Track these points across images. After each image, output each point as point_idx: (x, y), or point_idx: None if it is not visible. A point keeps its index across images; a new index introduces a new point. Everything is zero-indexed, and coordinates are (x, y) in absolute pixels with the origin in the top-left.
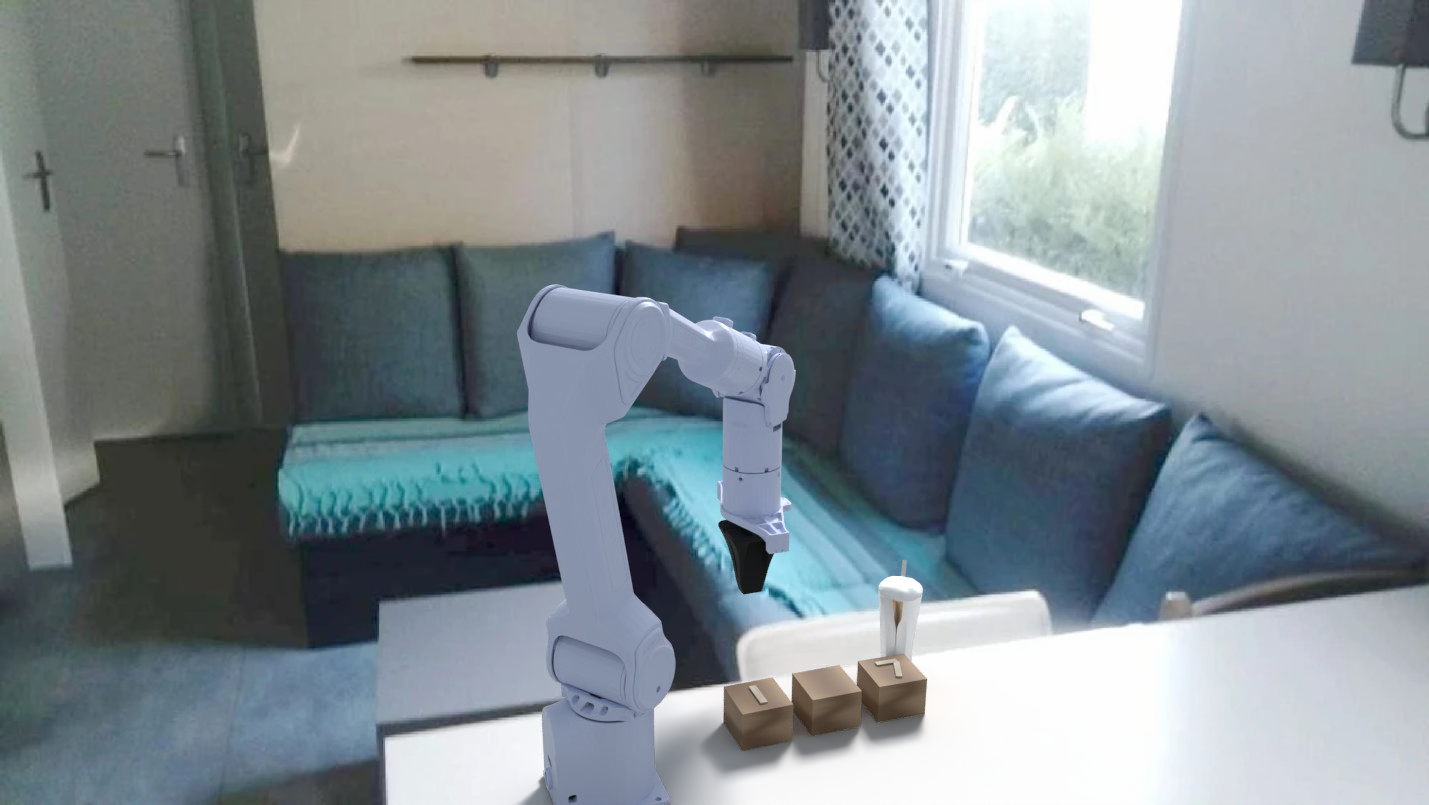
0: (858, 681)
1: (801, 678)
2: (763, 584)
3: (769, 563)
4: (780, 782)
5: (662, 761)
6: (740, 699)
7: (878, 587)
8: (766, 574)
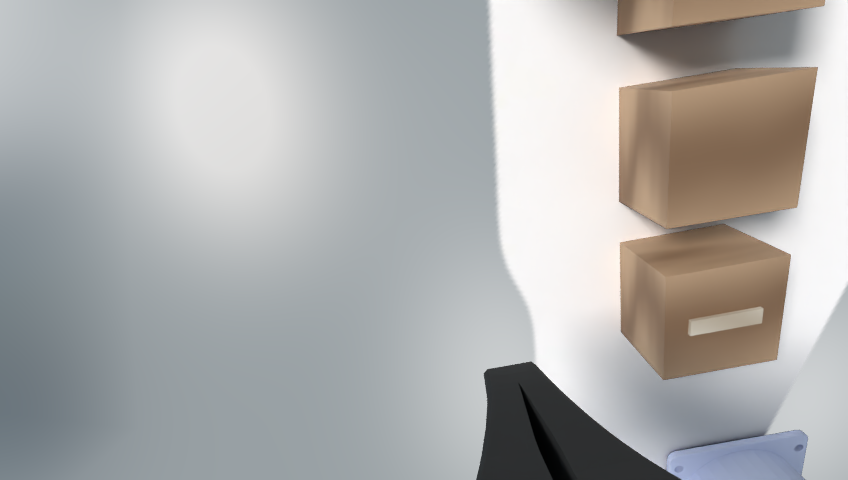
0: (649, 30)
1: (696, 211)
2: (543, 374)
3: (614, 436)
4: (826, 269)
5: (692, 428)
6: (722, 355)
7: None
8: (565, 396)
